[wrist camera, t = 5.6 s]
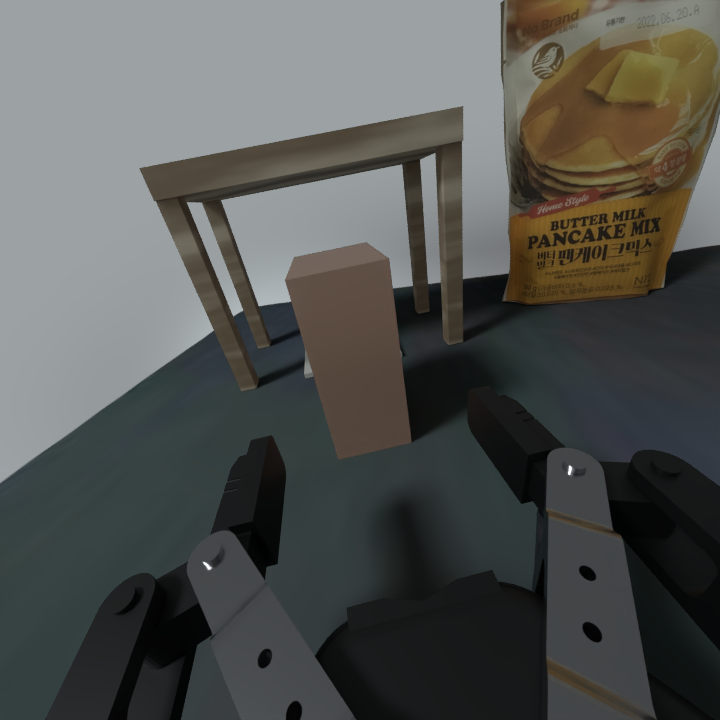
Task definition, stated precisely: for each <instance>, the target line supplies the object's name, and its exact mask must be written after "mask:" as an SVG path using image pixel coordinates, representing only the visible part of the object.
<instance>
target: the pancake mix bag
mask: <svg viewBox="0 0 720 720" xmlns="http://www.w3.org/2000/svg"><path fill="white" fill-rule="evenodd" d="M501 76H502V82H503V89H504V134H505V135H504V137H505V153H506V154H505V155H506V165H507V173H508V181H509V190H510V195H509V226H508V234H509V240H510V271H509V277H508V282H507V285H506V289H505V292H504V296H503V299H502V301H507V302H518V303H522V304H526V305H538V304H555V303H573V302H585V301H594V300H608V299H623V298H633V297H641V296H648V291H650V290H655V289H659V288H663V287H664V283H665V274H666V266H667V262H668V260H669V258H670V255H671V253H672V251H673V249H674V246H675V243H676V241H677V238H678V235H679V232H680V230H681V228H682V225H683V222H684V220H685V217H686V213H687V210H688V206H689V203H690V200H691V197H692V194H693V191H694V188H695V186H696V183H697V181H698V178H699V176H700V173H701V170H702V168H703V164H704V162H705V159H706V156H707V153H708V150H709V148H710V145H711V142H712V140H713V137H714V135H715V132H716V128H717V123H718V118H719V114H720V0H504V1H503V2H501Z"/></svg>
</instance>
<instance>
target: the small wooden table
mask: <svg viewBox="0 0 720 720" xmlns="http://www.w3.org/2000/svg"><path fill="white" fill-rule="evenodd" d="M462 141H463V106H462V107H457V108H451V109H446V110H441V111H436V112H430V113H426V114H421V115H415V116H410V117H404V118H399V119H395V120H389V121H383V122H378V123H373V124H368V125H363V126H357V127H353V128H347V129H342V130H337V131H331V132H326V133H321V134H316V135H310V136H305V137H300V138H295V139H290V140H285V141H279V142H274V143H269V144H264V145H258V146H253V147H248V148H243V149H237V150H233V151H227V152H222V153H216V154H211V155H206V156H201V157H196V158H190V159H185V160H180V161H175V162H170V163H164V164H159V165H154V166H149V167H143V168H140V171H141V173H142V175H143V177H144V179H145V182H146V184H147V186H148V188H149V191H150V193H151V195H152V197H153V199H154V201H156V202H157V204H158V207H159V209H160V211H161V214H162V216H163V218H164V220H165V222H166V225H167V227H168V229H169V231H170V233H171V235H172V238H173V240H174V242H175V245H176V247H177V249H178V251H179V253H180V255H181V258H182V260H183V262H184V265H185V267H186V269H187V271H188V273H189V276H190V278H191V280H192V282H193V284H194V287H195V289H196V291H197V293H198V296H199V298H200V300H201V302H202V304H203V307H204V309H205V311H206V313H207V316H208V317H209V320H210V322H211V324H212V327H213V329H214V331H215V333H216V336H217V338H218V340H219V342H220V344H221V347H222V349H223V351H224V353H225V356H226V358H227V360H228V362H229V364H230V367H231V369H232V371H233V373H234V376H235V378H236V380H237V382H238V384H239V387H240V389H241V391H246V390H250V389H255V388H257V385H258V382H259V379H258V377H257V374H256V372H255V369H254V367H253V364H252V362H251V359H250V357H249V355H248V352H247V350H246V347H245V345H244V342H243V340H242V337H241V335H240V332H239V330H238V328H237V325H236V323H235V320H234V318H233V315H232V313H231V310H230V308H229V305H228V303H227V301H226V298H225V296H224V293H223V291H222V288H221V286H220V283H219V281H218V278H217V276H216V273H215V271H214V269H213V266H212V264H211V261H210V259H209V256H208V254H207V251H206V249H205V247H204V244H203V242H202V239H201V237H200V234H199V232H198V230H197V227H196V224H195V222H194V219H193V217H192V214H191V212H190V210H189V207H188V205H187V202H202V203H203V206H204V209H205V211H206V214H207V217H208V219H209V222H210V224H211V227H212V230H213V232H214V235H215V237H216V240H217V243H218V245H219V248H220V250H221V253H222V256H223V258H224V261H225V263H226V266H227V269H228V271H229V274H230V276H231V279H232V282H233V284H234V287H235V289H236V292H237V295H238V297H239V300H240V302H241V305H242V308H243V310H244V313H245V315H246V318H247V321H248V323H249V326H250V328H251V331H252V334H253V336H254V339H255V341H256V344H257V347H258V349H260V348H264V347H269V346H270V344H271V340H270V337H269V334H268V331H267V328H266V326H265V323H264V320H263V317H262V314H261V312H260V309H259V306H258V303H257V301H256V298H255V295H254V292H253V289H252V287H251V283H250V281H249V278H248V275H247V272H246V269H245V267H244V264H243V261H242V258H241V256H240V253H239V250H238V247H237V244H236V241H235V239H234V236H233V233H232V230H231V228H230V224H229V222H228V219H227V216H226V213H225V210H224V208H223V205H222V202H221V200H223V199H228V198H234V197H239V196H244V195H249V194H254V193H259V192H264V191H269V190H274V189H279V188H284V187H289V186H294V185H299V184H305V183H310V182H315V181H320V180H324V179H330V178H335V177H339V176H345V175H350V174H355V173H360V172H365V171H370V170H375V169H380V168H385V167H390V166H396V165H400V164H402V166H403V177H404V189H405V200H406V211H407V221H408V222H407V223H408V234H409V245H410V256H411V267H412V278H413V290H414V302H415V311H416V312H417V313H418V314H420V313H425V312H429V311H430V310H429V294H428V278H427V263H426V249H425V248H426V247H425V232H424V216H423V201H422V185H421V169H420V159H422V158H424V157H426V156H429V155H431V154H433V153H436V173H437V174H436V176H437V199H438V220H439V221H438V222H439V246H440V270H441V294H442V318H443V339H444V340H445V341H446V343H447V344H448V345H452V344H456V343H461V342H463V264H462V263H463V258H462Z"/></svg>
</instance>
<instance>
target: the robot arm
mask: <svg viewBox="0 0 720 720" xmlns="http://www.w3.org/2000/svg"><path fill="white" fill-rule="evenodd" d="M468 424H469V428H470V430H471V432H472V434H473V436H474V437H475V438H476V440H477V441H478V443H479V444H480V446H481V447H482V448H483V450H484V451H485V453H486V454H487V456H488V457H489V458H490V460H491V461H492V463H493V464H494V466H495V467H496V468H497V470H498V471H499V473H500V474H501V476H502V477H503V478H504V480H505V481H506V483H507V484H508V486H509V487H510V488H511V490H512V491H513V493H514V494H515V496H516V497H517V498H518V500H519V501H520V503H521V504H523V503H527V502H531V501H533V502H534V503H535V505H536V506H537V507H538V511H537V525H536V545H535V565H534V575H533V583H532V591H530V590H528V589H526V588H523V587H520V586H517V585H514V584H510V583H505V582H498V581H497V579H496V577H495V575H494V573H493V571H492V570H490V571H487V572H483V573H479V574H475V575H471V576H467V577H463V578H460V579H456V580H455V581H453V582H452V583H450V584H449V585H447V586H446V587H444V588H443V589H441V590H439V591H438V592H436V593H435V594H433V595H432V596H430V597H429V598H427V599H425V600H420V601H419V600H402V599H385V598H383V599H379V600H375V601H371V602H367V603H363V604H360V605H356V606H352V607H348V608H347V614H348V621H346V622H345V623H343V624H342V625H341V626H340V627H338V628H337V629H336V630H335V631H334V632H333V633H332V634H331V635H330V636H329V637H328V638H327V639H326V641H325V642H324V643H323V645H322V646H321V647H320V649H319V650H318V652H317V654H316V655H315V656H314V655H313V653H312V652H311V650H310V648H309V647H308V645H307V644H306V642H305V641H304V639H303V638H302V636H301V635H300V633H299V632H298V630H297V629H296V627H295V626H294V624H293V623H292V621H291V620H290V618H289V617H288V615H287V613H286V612H285V610H284V609H283V607H282V606H281V604H280V603H279V601H278V600H277V598H276V597H275V595H274V594H273V592H272V591H271V589H270V588H269V586H268V585H267V583H266V582H265V574H266V567H267V566H271V565H275V564H278V554H279V544H280V534H281V524H282V514H283V504H284V493H285V483H286V470H285V465H284V462H283V459H282V457H281V455H280V452H279V450H278V448H277V445H276V443H275V441H274V438H273V437H272V436H267V437H262V438H258V439H254V440H251V442H250V445H249V449H248V453H247V455H244V456H240V457H239V458H238V460H237V461H236V462H235V464H234V465H233V466H232V468H231V470H230V474H229V477H228V480H227V481H228V483H226V486H225V490H224V493H223V496H222V499H221V503H220V506H219V509H218V512H217V515H216V519H215V522H214V525H213V528H212V531H211V534H210V536H208V537H207V538H205V539H204V540H203V541H202V542H201V543H200V544H199V545H198V546H197V547H196V548H195V550H194V551H193V553H192V554H191V556H190V558H189V561H188V562H186V563H185V564H183V565H181V566H180V567H178V568H176V569H174V570H172V571H171V572H169V573H167V574H165V575H163V576H162V577H160V578H158V579H155V578H154V577H153V576H152V575H150V574H148V573H140V574H137V575H134V576H132V577H130V578H128V579H127V580H125V581H124V582H122V583H121V584H120V585H118V586H117V587H116V588H115V589H114V590H113V591H112V592H111V593H110V594H109V595H108V597H107V598H106V599H105V600H104V602H103V603H102V605H101V607H100V608H99V610H98V612H97V614H96V616H95V618H94V620H93V622H92V624H91V627H90V629H89V631H88V633H87V635H86V637H85V639H84V641H83V643H82V645H81V647H80V649H79V651H78V653H77V655H76V657H75V659H74V662H73V664H72V666H71V668H70V670H69V672H68V674H67V676H66V678H65V680H64V682H63V684H62V686H61V688H60V690H59V692H58V694H57V697H56V699H55V701H54V703H53V705H52V707H51V709H50V711H49V713H48V715H47V717H46V719H45V720H181V716H182V712H183V707H184V703H185V698H186V693H187V689H188V684H189V680H190V675H191V671H192V666H193V662H194V657H195V652H196V648H197V645H198V644H199V643H201V642H202V641H204V640H205V639H207V638H208V637H210V636H211V635H213V636H212V637H211V639H210V641H211V646H212V649H213V652H214V654H215V657H216V659H217V662H218V664H219V666H220V669H221V671H222V674H223V676H224V679H225V681H226V684H227V686H228V689H229V691H230V693H231V696H232V698H233V701H234V703H235V706H236V708H237V711H238V713H239V716H240V718H241V720H714V719H713V718H711V717H710V716H709V715H707V714H706V713H704V712H703V711H702V710H700V709H699V708H697V707H696V706H695V705H693V704H692V703H690V702H689V701H688V700H686V699H685V698H683V697H682V696H681V695H679V694H678V693H676V692H675V691H674V690H672V689H671V688H669V687H668V686H667V685H665V684H664V683H662V682H661V681H660V680H658V679H657V678H655V677H654V676H653V675H651V674H650V673H648V672H647V671H646V666H645V660H644V654H643V649H642V643H641V638H640V632H639V626H638V621H637V615H636V610H635V604H634V599H633V593H632V587H631V582H630V576H629V571H628V565H627V559H626V554H625V548H624V543H623V540H622V538H623V539H624V540H625V541H626V543H627V544H628V545H629V546H630V547H631V548H632V550H633V551H634V552H635V553H636V554H637V555H638V557H639V558H640V559H641V560H642V561H643V562H644V564H645V565H646V566H647V567H648V568H649V569H650V570H651V572H652V573H653V574H654V575H655V576H656V577H657V579H658V580H659V581H660V582H661V583H662V584H663V586H664V587H665V588H666V589H667V590H668V591H669V593H670V594H671V595H672V596H673V597H674V598H675V599H676V601H677V602H678V603H679V604H680V605H681V606H682V608H683V609H684V610H685V611H686V612H687V613H688V615H689V616H690V617H691V618H692V619H693V620H694V622H695V623H696V624H697V625H698V626H699V627H700V628H701V630H702V631H703V632H704V633H705V634H706V635H707V637H708V638H709V639H710V640H711V641H712V642H713V644H714V645H715V646H716V647H717V648H718V649H719V651H720V486H718V485H717V484H716V483H714V482H713V481H712V480H710V479H709V478H707V477H706V476H705V475H703V474H702V473H701V472H699V471H698V470H697V469H695V468H694V467H692V466H691V465H690V464H688V463H687V462H685V461H684V460H682V459H680V458H678V457H676V456H674V455H671V454H668V453H665V452H661V451H656V450H642V451H638V452H636V453H635V454H634V455H633V457H632V459H631V461H630V463H624V462H600V461H597V460H596V459H594V458H593V457H592V456H590V455H588V454H587V453H585V452H582V451H580V450H576V449H572V448H566V447H565V446H564V445H563V444H561V443H560V442H559V441H558V440H557V439H556V438H555V437H554V436H553V435H552V434H551V433H550V432H549V431H548V430H547V429H546V428H545V427H544V426H543V425H542V424H541V423H540V422H538V421H537V420H535V419H534V417H533V416H532V415H531V414H530V413H529V412H527V410H526V409H525V408H524V407H523V406H522V405H521V404H520V403H519V402H518V401H516V400H514V399H512V398H510V397H508V396H506V395H502V396H498V395H497V394H496V393H495V392H494V390H493V389H492V388H491V387H489V386H484V387H480V388H475V389H471V390H469V391H468ZM677 525H678V526H679V527H680V528H681V529H682V530H683V531H684V532H685V533H686V534H688V535H689V536H690V537H691V538H692V539H693V540H694V541H695V542H696V543H697V544H698V545H699V546H700V547H701V548H702V549H703V550H705V551H706V552H707V553H708V555H707V554H706V553H705V552H704V551H703V550H702V549H701V548H700V547H699V546H698V545H697V544H696V543H695V542H694V541H693V540H692V539H690V538H689V537H688V536H687V535H686V534H685V533H684V532H683V531H682V530H681V529H680V528H679V527H678V526H677Z"/></svg>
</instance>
